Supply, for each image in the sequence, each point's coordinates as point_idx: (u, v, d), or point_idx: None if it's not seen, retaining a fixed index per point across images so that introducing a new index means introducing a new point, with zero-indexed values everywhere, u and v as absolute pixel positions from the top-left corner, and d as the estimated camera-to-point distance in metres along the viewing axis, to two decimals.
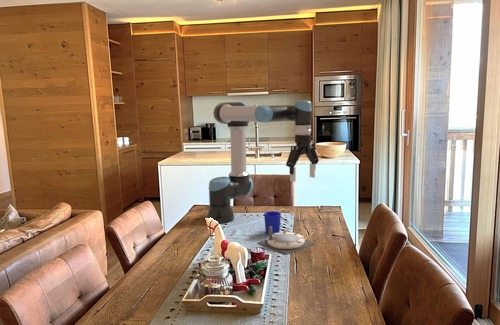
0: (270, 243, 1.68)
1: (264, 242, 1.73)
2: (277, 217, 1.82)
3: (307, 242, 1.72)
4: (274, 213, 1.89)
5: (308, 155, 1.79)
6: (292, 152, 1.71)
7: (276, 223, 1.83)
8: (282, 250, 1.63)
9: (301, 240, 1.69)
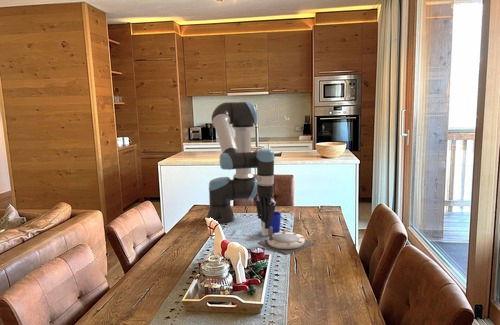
0: (270, 243, 1.68)
1: (264, 242, 1.73)
2: (277, 217, 1.82)
3: (307, 242, 1.72)
4: (274, 213, 1.89)
5: None
6: None
7: (276, 223, 1.83)
8: (282, 250, 1.63)
9: (301, 240, 1.69)
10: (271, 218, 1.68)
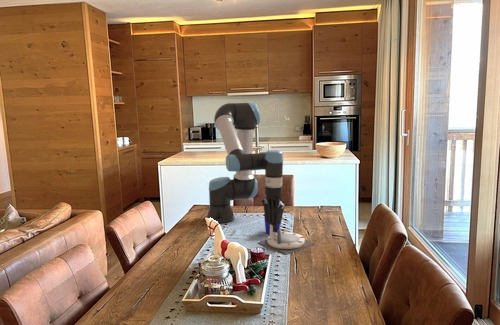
0: (284, 246, 1.64)
1: (264, 242, 1.73)
2: None
3: (307, 242, 1.72)
4: None
5: None
6: None
7: None
8: (282, 250, 1.63)
9: (299, 235, 1.75)
10: (279, 221, 1.63)
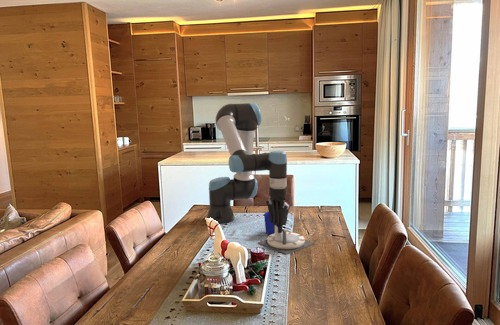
0: (290, 246, 1.64)
1: (264, 242, 1.73)
2: None
3: (307, 242, 1.72)
4: None
5: None
6: None
7: None
8: (282, 250, 1.63)
9: (296, 234, 1.77)
10: (284, 222, 1.62)
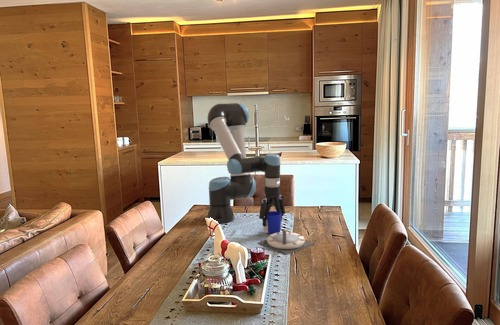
0: (291, 246, 1.64)
1: (264, 242, 1.73)
2: (277, 216, 1.83)
3: (307, 242, 1.72)
4: (275, 213, 1.89)
5: (276, 206, 1.89)
6: (262, 205, 1.82)
7: (277, 223, 1.83)
8: (282, 250, 1.63)
9: (296, 234, 1.77)
10: None
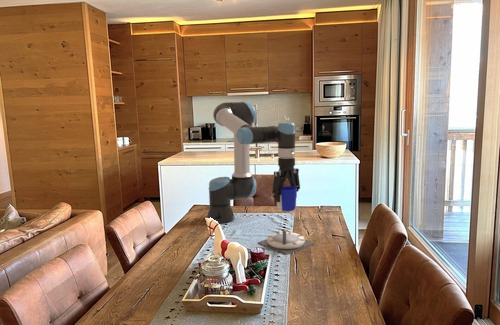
0: (291, 246, 1.64)
1: (264, 242, 1.73)
2: (293, 191, 1.65)
3: (307, 242, 1.72)
4: (289, 188, 1.72)
5: (290, 180, 1.71)
6: (276, 179, 1.65)
7: (292, 198, 1.65)
8: (282, 250, 1.63)
9: (296, 234, 1.77)
10: None
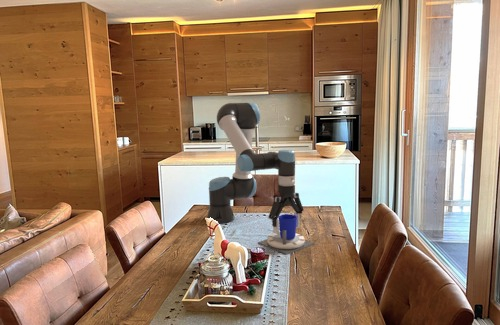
0: (291, 246, 1.64)
1: (264, 242, 1.73)
2: (293, 220, 1.68)
3: (307, 242, 1.72)
4: (288, 216, 1.74)
5: (292, 205, 1.73)
6: (275, 204, 1.66)
7: (293, 227, 1.68)
8: (282, 250, 1.63)
9: (296, 234, 1.77)
10: None
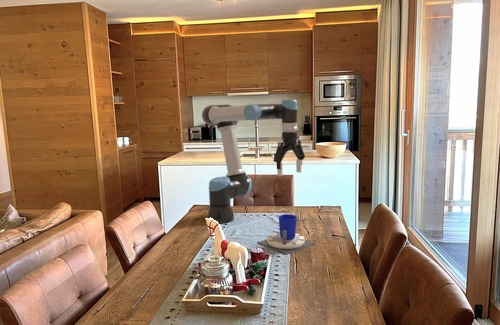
0: (291, 246, 1.64)
1: (264, 242, 1.73)
2: (293, 220, 1.68)
3: (307, 242, 1.72)
4: (288, 216, 1.74)
5: (295, 151, 1.89)
6: (279, 148, 1.81)
7: (293, 227, 1.68)
8: (282, 250, 1.63)
9: (296, 234, 1.77)
10: None
